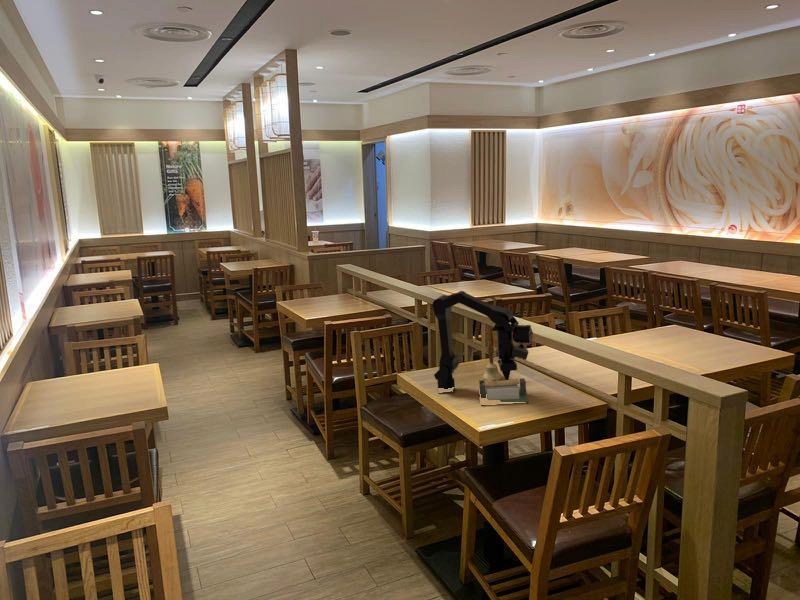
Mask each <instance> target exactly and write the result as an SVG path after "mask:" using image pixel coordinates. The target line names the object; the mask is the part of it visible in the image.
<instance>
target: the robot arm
mask: <svg viewBox="0 0 800 600" xmlns="http://www.w3.org/2000/svg"><path fill="white" fill-rule="evenodd" d="M458 304H461V305H463V306H465V307H467V308H468V309H472V310H474V311H475V312H478V313H479V314H482V315H484V316H486V317H487V318H488V319H489V320H490V321H491V322H492V323H493V324H494V326H493V327H492V328H491V331H492V332H496V339H497V341H496V346H497V348H496V349H495V356H496V358H497V357H498V359H497V362H498V363H497V364H498V367H499V371H501V373H502V376H504V379H505V380H510V375H511V371H518V364H517V361H515V360H514V359H516V358H518V359H522V360H524V361H526V360H527V359H528V356H529V350H528V349H527V347H525V346H524V344H532V343H533V340H534V332H533V329H532V325H531V324H526V325H525V324H524V325H522V324H520V323H519V321H518V320H517V319H516V317H514V313H513V312H512V310H511V309H510V308H508V307H504V306H501V305H493V304H491V303H489V302H486V301H484V300H481V299H480V298H477V297H475V296H473V295H472V294H469V293H467V292H466V291H464V290H460V291H458V292H454V293H452V294H448V295H446V294H443V295H440V296H439V297H437V298H436V299H434V300H433V302H432V305H431V307H432V310H433V313H434V316H435V317H436V319H437V323H438V333H439V334H438V335H439V343H440V352H441V355H440V359H439V362H438V363H439V365H438V370H437V371H436V372H435V373H434V374H433V376H434V379H435V380H437V389H438V388H444V389H448V388H452V387H455V388H456V386H455V385H456V384H455V378H454V377H453V374H454V373H455V371H456V370H457V369H458V367H459V365H460V361H459V354H455V352H454V350H453V338H452V331H451V322H450V321H451V320H450V317H451V312H452V307H453V306H456V305H458ZM514 342H515V343H517V345H514Z"/></svg>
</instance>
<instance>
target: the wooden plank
mask: <svg viewBox="0 0 800 600" xmlns="http://www.w3.org/2000/svg"><path fill="white" fill-rule="evenodd" d="M484 382H485V381H484ZM513 384H517V385H518V384H519V385H520V380H519V379H518V378H515V379H509V380H506V379H505V380H497V381H486V382H485V383H482V385H485V388H486V387H494V386H504V385H513Z"/></svg>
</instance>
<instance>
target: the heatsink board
mask: <svg viewBox="0 0 800 600" xmlns="http://www.w3.org/2000/svg"><path fill="white" fill-rule="evenodd" d="M478 382H479V383H478V384H479V389H480V394H481V398H486V394H487V399H488V400H500V401H501V402H528V403H529V399H528V397H527V386H526V385H527V381H526V380H525V377H524V378H523V377H522V378H519V385H518V384H513V385H504V386H494V387H485V385H482V383H485V380H484V379H482V380H479V381H478Z"/></svg>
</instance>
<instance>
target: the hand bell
mask: <svg viewBox="0 0 800 600" xmlns="http://www.w3.org/2000/svg"><path fill="white" fill-rule="evenodd" d="M486 348H487V354H488V356H489V357H488V362H489V363H488V364H487V365H486V368H485V369H486V370H485V372H484V374H483V375H482V379H483V378H485V379H487V380H497V381H500V380H501V379H502V378H503V374H501V373H500V372H499V371H500V370H499V369H498V365H497V364H496V363H494V362H495V361H494V357H493V356H494V346H493V343H492V341H487V347H486ZM499 379H500V380H499ZM487 380H486V381H487Z"/></svg>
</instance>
